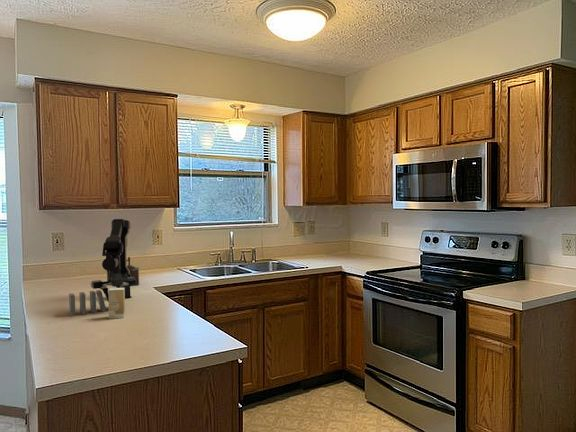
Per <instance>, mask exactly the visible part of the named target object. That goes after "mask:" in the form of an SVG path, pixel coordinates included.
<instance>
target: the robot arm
mask: <svg viewBox="0 0 576 432" xmlns="http://www.w3.org/2000/svg"><path fill="white" fill-rule="evenodd" d="M110 228H111V230H110V235H109V236H108V237H107V238H106V239H105V241H104V242H103V245H102V254H101V255H102V257H105V258H104V259H103V260H102V263H101V267H102V268H103V270H105V271H106V281H102V280H101V279H98V280H91V282H90V288H92V289H94V290H97V289H99V290H100V291H101V290H102V293H103V294H104V296H105V299H106V301H107V303H109V287H108V286H112V287H113V288H125V299H129V298H130V299H131V298H132V296H131V287H132V286H131V285H133V284H136V279H135V278H134V277H132V276H131V274H130V270H129V269H128V267H127V264H128V263H127V262H128V261H126V260H127V236H128V235H129V233H130V230H131V222H130V220H128V219H124V218H114V219H112V221H111V227H110Z"/></svg>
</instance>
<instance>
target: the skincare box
mask: <svg viewBox="0 0 576 432" xmlns="http://www.w3.org/2000/svg"><path fill="white" fill-rule="evenodd" d="M108 295H109V302H108V319H120V318H121V319H122V318H124V317H125V316H126V314H125V312H126V308H125V306H126V305H125V302H126V300H125V299H126V298H125V288H116V287H113V288H111V287H109V288H108Z"/></svg>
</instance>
